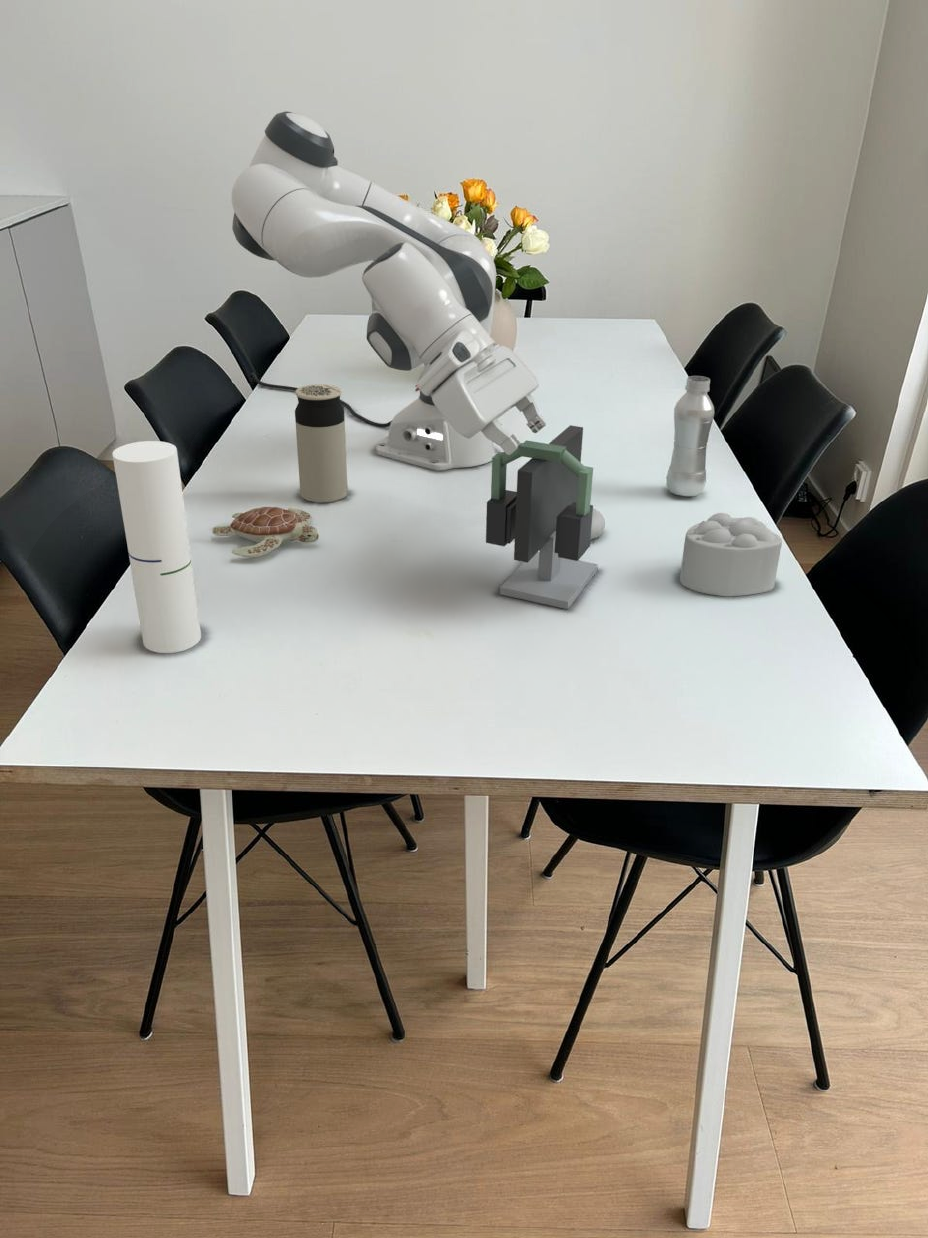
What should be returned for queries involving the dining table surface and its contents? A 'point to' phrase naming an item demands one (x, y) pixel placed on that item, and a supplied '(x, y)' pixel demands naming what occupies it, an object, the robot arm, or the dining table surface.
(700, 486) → the plastic bottle
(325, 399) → the travel mug
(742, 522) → the lumpy-topped squat cylinder
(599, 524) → the donut
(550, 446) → the headphones
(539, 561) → the monitor
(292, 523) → the decorative turtle
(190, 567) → the cylindrical container
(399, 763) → the dining table surface
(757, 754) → the dining table surface
